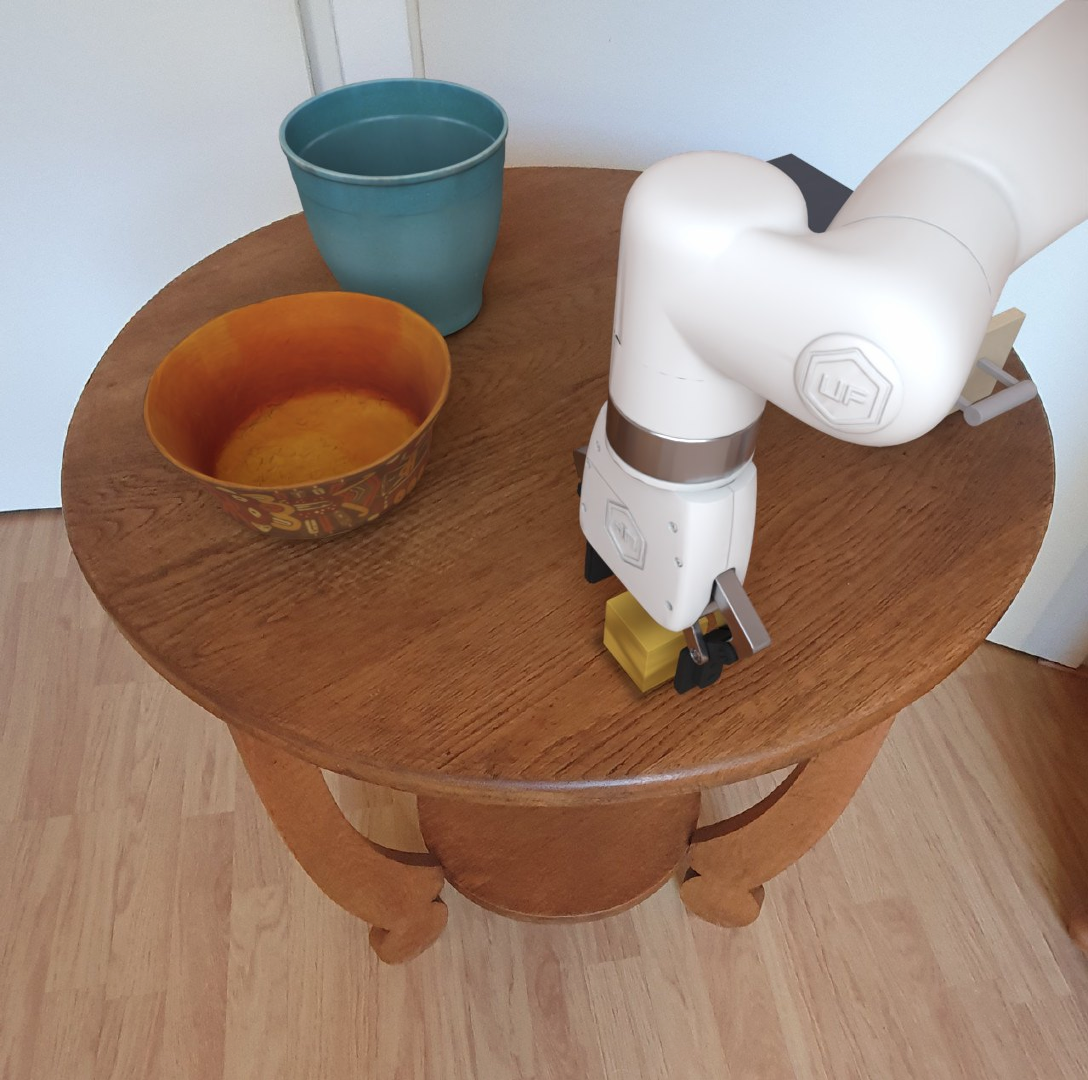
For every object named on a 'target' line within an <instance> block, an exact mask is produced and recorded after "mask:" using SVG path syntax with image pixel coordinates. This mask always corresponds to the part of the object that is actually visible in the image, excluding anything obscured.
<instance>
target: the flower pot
mask: <svg viewBox="0 0 1088 1080" xmlns="http://www.w3.org/2000/svg"><path fill="white" fill-rule="evenodd" d="M508 133H509V117H508V114H507V112H506V110H505V109H504V107H503V106H502V104H500V102H498V101H497V100H496V99H495V98H494V97H492V96H491V95H489V94H486V93H485V92H484V91H481V90H479V89H476V88H473V87H471V86H468V85H465V84H461V83H458V82H453V81H447V80H443V79H442V80H441V79H434V78H423V77H389V78H387V77H386V78H385V77H384V78H377V79H369V80H363V81H357V82H353V83H348V84H345V85H341V86H336V87H334V88H331V89H329V90H325V91H323V92H319V93H318V94H316V95H313V96H311V97H309V98H308V99H305V100H304V101H302V102H301V103H299V104H298V105H297V106H294V108H293V109H292V110H290V111H289V112H288V114H287V115H286V116H285V117H284V118H283V120H282V122H281V123H280V125H279V129H278V141H279V145H280V148H281V151H282V153H283V154H284V156H285V157H286V160H287V164H288V167H289V170H290V173H291V177H292V180H293V182H294V184H295V186H296V190H297V194H298V197H299V200H300V204H301V207H302V210H303V213H304V217H305V220H306V223H307V226H308V228H309V229H308V230H309V232H310V234H311V237H312V239H313V241H314V244H315V245H316V247H317V249H318V252H319V254H320V255H321V257H322V259H323V261H324V262H325V264H326V266H327V267H328V269H329V271H330V272H331V274H332V275H333V276H334V279H335V280H336V281H337V283H338V285H339V286H340V288H341V291H351V292H359V293H365V294H370V295H374V296H379V297H383V298H386V299H389V300H392V301H395V302H398V303H401V304H403V305H405V306H407V307H408V308H410V309H412V310H413V311H415V312H417V313H418V314H420V315H421V316H423V317H424V318H425V319H427V320H428V321H429V322H431V323H432V324H433V325H434V326H436V328H437V329H438V330H439V331H440V333H441V334H442V336H443V338H444V337H446V336H449V335H451V334H454V333H456V332H458V331H459V330H460V331H461V329H463V328H465V327H467V325H469V324H470V323H471V322H472V321H473V320H474V319H475V318H476V317H477V315H478V314H479V313H480V310H481V308H482V305H483V287H484V283H485V279H486V276H487V272H488V269H489V266H490V262H491V260H492V256H493V254H494V252H495V248H496V244H497V241H498V236H499V232H500V228H501V219H502V211H503V210H502V209H503V200H504V199H503V198H504V174H505V173H504V170H505V162H506V139H507V137H508Z"/></svg>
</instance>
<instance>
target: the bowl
mask: <svg viewBox="0 0 1088 1080" xmlns="http://www.w3.org/2000/svg"><path fill="white" fill-rule="evenodd" d="M452 375H453V361H452V357H451V354H450V350H449V346H448V343H447V341H446V339H445V338H444V337H443V336H442V334H441V333H440V331H439V330H438V329H437V328H436V326H434V325H433V324H432V323H431V322H429V321H428V320H427V319H425V318H424V317H423V316H421V315H420V314H418V313H417V312H415V311H413V310H412V309H410V308H408V307H407V306H405V305H403V304H401V303H398V302H395V301H392V300H389V299H386V298H383V297H379V296H374V295H370V294H365V293H359V292H351V291H343V290H316V291H307V292H299V293H289V294H284V295H279V296H275V297H270V298H266V299H263V300H259V301H256V302H252V303H249V304H245V305H243V306H239V307H236V308H234V309H230V310H228V311H226V312H223V313H221V314H219V315H217V316H214V317H211V318H209V319H208V320H207V321H206V322H205V323H203V324H202V325H200V326H199V327H197V328H195V329H194V330H193V331H191V332H190V333H188V334H187V335H186V336H184V337H183V338H182V339H181V340H179V341H178V342H177V344H175V345H174V346H173V347H172V348H171V349H170V350H169V351H168V352H167V353H166V355H164V357H163V358H162V360H161V361H160V363H158V365H157V366H156V368H155V370H154V371H153V373H152V375H151V377H150V378H149V381H148V383H147V386H146V389H145V393H144V397H143V402H142V415H141V416H142V417H141V418H142V421H143V425H144V430H145V433H146V436H147V437H148V439H149V441H150V442H151V444H152V446H153V448H154V449H155V450H156V451H157V452H158V453H159V454H160V455H161V457H163V458H164V459H165V460H166V461H167V462H168V463H169V464H170V465H172V466H173V467H174V468H176V469H177V470H179V471H180V472H181V473H183V474H184V475H186V476H187V477H189V479H192V480H194V481H196V482H198V483H199V484H200V485H202V486H203V487H204V488H205V490H206V491H207V492H208V493H209V495H210V496H211V498H212V499H213V500H214V501H215V503H216V504H217V505H218V506H219V508H220V509H221V510H222V511H223V512H224V513H225V514H226V515H227V516H228V517H230V518H231V519H233V520H234V521H236V522H237V523H239V524H240V525H242V526H244V527H246V528H248V529H250V530H251V531H252V532H257V533H259V534H263V535H266V536H270V537H273V538H280V539H285V540H287V539H288V540H314V539H322V538H323V539H324V538H328V537H332V536H335V535H340V534H342V533H343V534H344V533H346V532H351V531H354V530H355V529H358V528H361V527H363V526H365V525H367V524H370V523H373V522H374V521H376V520H377V519H379V518H381V517H383V516H384V515H385V514H387V513H388V512H389V511H391V510H392V509H394V508H395V507H396V506H398V504H400V503H401V502H402V501H403V500H405V498H407V496H409V495H410V493H412V491H413V490H414V488H415V487H416V486H417V485H418V483H419V481H420V480H421V478H422V476H423V474H424V471H425V469H426V468H427V466H428V463H429V459H430V455H431V448H432V442H433V441H432V438H433V427H434V424H435V422H436V421H437V419H438V417H439V415H440V413H441V411H442V409H443V407H444V405H445V403H446V401H447V398H448V395H449V392H450V388H451V384H452V377H453V376H452Z"/></svg>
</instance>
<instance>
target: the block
mask: <svg viewBox="0 0 1088 1080" xmlns="http://www.w3.org/2000/svg"><path fill="white" fill-rule="evenodd" d="M604 618H605V619H604V628H603V642H602V644H603V645H604V646H605V647H606V648H607V650H608V651H609V652H610V654H611V656H612V657H614V658H615V660H616V661H617V662H618V664H619V665H620V666H621V668H622V669H623V671H625V673H626V674H627V675H628V676H629V678H630V679H631V680H632V682H633V683H634V685H636V687H637V689H639V690H640V692H641V693H642V694H643V693H645V692H648V691H649V690H651V689H653V688H655V687H656V686H659V685H660V684H662V683H664V682H666V681H668V680H669V679H672V678H674V677H675V673H676V668H677V663H678V659H679V654H680V651H681V650H682V649H683V648H684V647H686V646H687V643H686V640H685V637H684V634H683V631H682V630H681V631H679V632H673V631H670V630H668V629H666V628H664V627H663V626H661V625H660V624H659V623H657V622H656V621H655V620H654V619H653V618H652V617H651V616H650V615H649V613H648V612H647V611H646V610H645V609H644V608H643V607H642V605H641V604H640V603H639V602H638V601H637V600H636V598H635V597H634V596H633V595H632V594H631V593H630V591H629V590H628V589H627V590H626V591H624V592H622V593H620V594H618V595H616V596H614V597H612V598H609V599H608V600H606V604H605V617H604ZM698 621H699V624H700V627H701V630H702V633H703V635H704V634H706V633H707V630H708V624H709V619H708V618H707V617H706V616H705V617H703V618H701V619H699V620H698Z"/></svg>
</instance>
